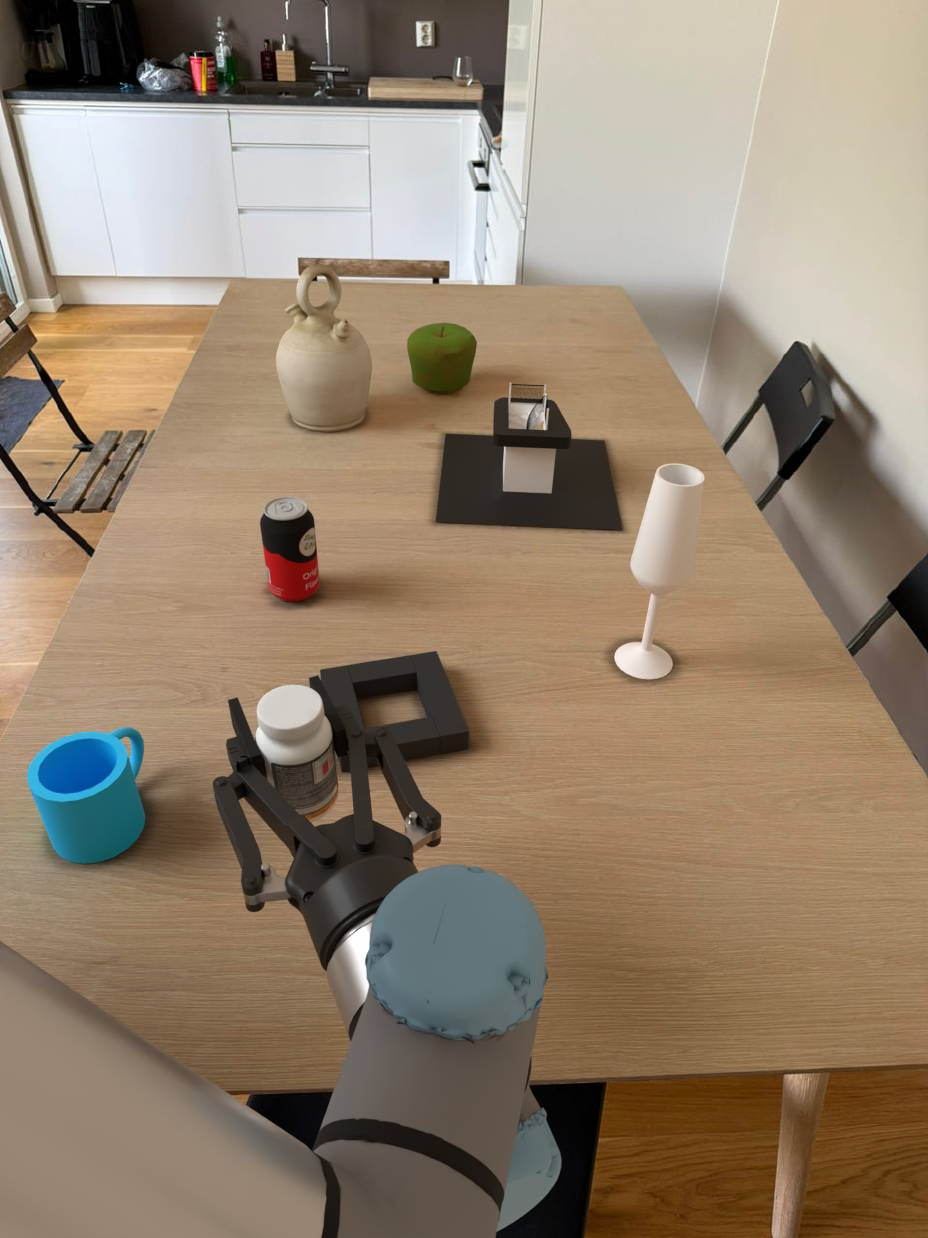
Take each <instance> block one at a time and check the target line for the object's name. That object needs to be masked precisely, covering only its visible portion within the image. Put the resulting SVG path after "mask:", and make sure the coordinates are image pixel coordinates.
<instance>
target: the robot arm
mask: <svg viewBox="0 0 928 1238" xmlns="http://www.w3.org/2000/svg"><path fill="white" fill-rule="evenodd" d="M308 683H309V688H311V689H313V690H315V691H316V692H317V693H318V694H319V695H320V697H321V699H322V702H323V707H324V715H325V716H326V718H327V719H328V720H329V722H330V724H331V727H332V732H333V741H334V750H335V755H336V757H337V759H338V758H339V757H342V756H345V755H348V753H347V750H348V752H349V758H350V783H351V796H352V797H351V799H352V811H353V813H351V814H348V815H345V816H343V817H341V818H339V819H337V820H336V821H334V822H332V823H324V824H318V825H316V826H315V824H313V822H310V821H309V820H308V819H307V818H306V817H305V816H304V815H302V816H300V815H299V814H298V812H297V811H296V810H295V809H294V808H293V807H292V806H291V805H290V804H289V803H288V802H287V801H286V800H285V799H284V797H283V796H282V795H281V794H280V793H279V792H278V791H277V790H276V789H275V788H274V787H273V786H272V785H271V784H270V782H269V781H268V780H267V779H266V778H265V777H264V774H263V768H262V762H261V755H260V752H259V750H258V747H257V745H256V742H255V736H254V735H253V733H252V730H251V728H250V725H249V723H248V720H247V717H246V715H245V712H244V709H243V707H242V705H241V702H240V700H239V697H234V698H233V697H232V698H230V699H227V705H228V709H229V715H230V720H231V726H232V728H233V730H234V733H235V736H234V737H230V738H226V742H225V748H226V753H227V758H228V761H229V764H230V766H231V769H232V771H231V773H230V774H229V775H228V776H226V775H220V776H217V777H215V778H214V779H213V781H212V782H211V785H212V790H213V796H214V799H215V804H216V808H217V811H218V814H219V816H220V819H221V822H222V824H223V826H224V829H225V831H226V834H227V836H228V839H229V842H230V844H231V846H232V849H233V852H234V854H235V856H236V859H237V861H238V864H239V867H240V869H241V874H240V884H241V890H242V895H243V900H244V904H245V908H246V909H245V910H247V911H248V912H250V913H257V912H260V911H262V910H263V908H264V907H265V904H266V903H268V902H277V901H287V902H288V903H289V904H290V906H292V907H293V908H294V909H296V910H297V911H298V912H300V914H301V916H302V917H303V921H304V923H305V925H306V928H307V930H308V931H307V932H308V933H309V937H310V939H311V942H312V944H313V947H314V950H315V952H316V955H317V957H318V960H319V963H320V966H321V967H322V969H323V971H325V974H326V980H327V984H328V987H329V990H330V992H331V995H332V997H333V1000H334V1003H335V1005H336V1008H337V1010H338V1013H339V1016H340V1019H341V1021H342V1023H343V1026H344V1029H345V1031H346V1033H347V1036H348V1039H349V1046H348V1049H347V1051H346V1055H345V1057H344V1060H343V1063H342V1065H341V1068H340V1071H339V1074H338V1076H337V1080H336V1082H335V1086H334V1089H333V1092H332V1094H331V1096H330V1099H329V1103H328V1106H327V1109H326V1111H325V1114H324V1116H323V1119H322V1122H321V1125H320V1128H319V1130H318V1133H317V1136H316V1138H315V1141H314V1145H313V1147H312V1149H310V1148H309V1147H308V1146H307V1145H306V1144H305V1143H304V1142H302V1141H300V1140H299V1139H298V1138H296V1137H294V1136H293V1135H291V1134H290V1133H288V1132H287V1131H286V1130H284V1129H283V1128H281V1127H280V1126H278V1125H277V1124H275V1123H273V1122H272V1121H270V1120H269V1119H268V1118H266V1117H265V1116H263V1115H261V1114H260V1113H259V1112H257V1111H255V1110H254V1109H252V1107H250V1106H248V1105H246V1104H245V1103H244V1102H242V1101H241V1100H240V1099H238V1098H236V1097H235V1096H233V1095H232V1094H231V1093H229V1092H227V1091H225V1090H224V1089H223V1088H222V1087H220V1086H219V1085H217V1084H215V1083H214V1082H213V1081H211V1080H209V1079H208V1078H207V1077H205V1076H203V1075H202V1074H200V1073H199V1072H197V1071H196V1070H194V1069H193V1068H191V1067H190V1066H188V1064H185V1063H184V1062H182V1061H181V1060H179V1059H178V1058H177V1057H175V1056H173V1055H172V1054H171V1053H170V1052H168V1051H166V1050H164V1049H163V1048H162V1047H160V1046H159V1045H157V1044H156V1043H154V1042H153V1041H151V1040H149V1038H146V1037H145V1036H144V1035H142V1034H140V1033H139V1032H137V1031H136V1030H134V1029H133V1028H132V1027H130V1026H128V1025H127V1024H126V1023H124V1022H123V1021H121V1020H120V1019H118V1018H117V1017H115V1016H114V1015H112V1014H111V1013H109V1012H108V1011H106V1010H104V1009H103V1008H102V1007H100V1006H99V1005H97V1004H96V1003H94V1002H93V1001H91V1000H90V999H88V998H87V997H86V996H84V995H82V994H81V993H79V992H78V991H76V990H75V989H73V988H72V987H70V986H68V984H66V983H64V982H63V981H61V980H59V978H57V977H55V976H54V975H52V974H51V973H49V972H48V971H46V970H45V969H43V968H42V967H40V965H39V966H38V964H35V963H34V962H33V961H31V960H30V959H28V958H26V956H24V955H23V954H21V953H19V952H18V951H16V950H15V949H13V948H12V947H11V946H9V945H7V944H6V943H4V942H2V940H0V1238H496V1236H497V1232H499V1231H501V1230H503V1229H504V1228H507V1227H508V1226H509V1225H511V1224H513V1223H514V1222H516V1221H517V1220H519V1219H520V1218H522V1217H523V1216H524V1215H526V1214H528V1213H529V1212H530V1211H531V1210H532V1209H533V1208H535V1206H537V1205H538V1204H539V1203H540V1202H541V1201H542V1200H543V1199H544V1198H545V1197H546V1196H547V1195H548V1194H549V1192H550V1191H551V1190H552V1188H554V1186H555V1184H556V1182H557V1181H558V1179H559V1176H560V1173H561V1170H562V1156H561V1151H560V1148H559V1147H558V1144H557V1142H556V1140H555V1137H554V1134H553V1133H552V1130H551V1128H550V1126H549V1124H548V1121H547V1117H548V1114H547V1111H546V1110H545V1108H544V1107H541V1106H540V1105H539V1102H538V1101H537V1099H536V1097H535V1095H534V1094H533V1092H532V1089H531V1087H530V1082H531V1074H532V1062H533V1061H532V1053H533V1048H534V1044H535V1039H536V1033H537V1028H538V1023H539V1017H540V1011H541V1006H542V1003H543V1001H544V993H545V986H546V985H547V980H549V973H548V966H547V964H546V955H547V953H546V952H547V951H546V950H547V942H546V940H547V939H546V934H545V930H544V925H543V922H542V919H541V917H540V915H539V912H538V911H537V909H536V907H535V905H534V903H532V901H531V899H529V897H528V896H527V895H526V894H525V893H524V892H523V891H522V890H521V888H519V887H518V886H517V885H516V884H515V883H514V882H512V881H510V880H509V879H508V878H506V877H504V876H503V875H501V874H499V873H497V872H494V871H491V870H488V869H484V868H481V867H479V866H469V865H465V864H460V863H459V864H457V863H455V864H454V863H453V864H441V865H436V866H432V867H428V868H426V869H423V870H421V871H419V869H418V868H417V866H416V864H415V863H414V859H415V858H414V854H415V853H417V851H419V850H421V849H422V848H424V847H425V846H427V847H428V848H436V847H439V845H440V844H441V841H442V814H441V813H440V811H439V810H437V809H436V808H435V807H434V806H433V805H431V803H429V801H427V800H426V799H425V798H424V797H423V795H422V793H421V791H420V789H419V787H418V785H417V783H416V780H415V779H414V776H413V774H412V773H411V771H410V768H409V767H408V764H407V763H406V760H404V758H403V756H402V754H401V752H400V750H399V748H398V746H397V744H396V742H395V740H394V738H393V736H392V734H391V732H390V730H389V729H388V728H385V727H380V728H378V729H376V730H375V732H371V733H368V732H364V731H363V730H361V729H360V728H359V726H358V724H357V722H356V720H355V718H354V717H353V715H352V713H351V711H350V709H349V708H348V707H347V706H345V705H342V706H339V707H334V705H333V703H332V701H331V699H330V697H329V695H328V693H327V691H326V690H325V688H324V686H323V684H322V682H321V677H320V676H319V675H314V676H310V677H308ZM374 757H376V760H377V762H378V764H379V765H378V767H379V768H380V771H381V773H382V775H383V777H384V779H385V782H386V784H387V786H388V788H389V791H390V793H391V795H392V797H393V800H394V802H395V804H396V806H397V808H398V811H399V813H400V814H401V817H402V820H403V821H404V833H405V834H403V833H401V832H399V831H397V830H395V829H392V828H391V827H389V826H386V825H384V824H383V823H380V822H378V821H376V820H374V819H373V809H372V799H371V789H370V780H369V779H370V778H369V769H368V768H369V767H367V758H374ZM241 799H244V800H245V801H246V802H247V804H248V805H249V806H250V807H251V808H252V809H253V811H254V812H255V813H256V814H257V815H258V816H259V817H260V818H261V819H262V820H263V822H264V823H265V824H266V825H267V826H268V827H269V828H270V830H271V831H272V832H273V833H274V834H275V835H276V836H277V838H278V839H280V841H281V842H282V843H283V844H284V846H286V847H287V849H288V850H289V852H290V854H291V856H292V858H293V859H292V862H291V864H290V866H289V869H288V871H287V874H286V876H285V877H281V876H279V875H278V874H277V871H276V869H275V867H273V866H272V865H270V864H269V863H268V862H263V859H262V853H261V850H260V847H259V844H258V842H257V840H256V838H255V836H254V835H255V834H254V833H253V831H252V828H251V826H250V824H249V821H248V818H247V816H246V814H245V812H244V810H243V807H242V805H241V802H240V801H241Z"/></svg>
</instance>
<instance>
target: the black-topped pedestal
mask: <svg viewBox="0 0 928 1238" xmlns="http://www.w3.org/2000/svg"><path fill="white" fill-rule="evenodd" d="M508 389H509V390H508V391H509V392H508V396H507V397H504V396H503V397H500V398H498V399H495V400H494V401H493V421H492V422H493V423H492V427H493V428H492V435H489V434H488V435H487V434H470V433H469V434H466V433H464V434H463V433H445V436H444V445H443V454H442V462H441V470H440V471H441V472H440V478H439V479H440V480H439V490H438V497H437V506H436V514H435V523H451V524H473V525H474V524H477V525H499V526H522V527H543V528H544V527H546V528H549V527H550V528H565V529H567V528H568V529H570V528H571V529H590V530H593V529H594V530H613V531H615V530H616V531H623V527H622V523H621V517H620V512H619V508H618V503H617V498H616V493H615V488H614V482H613V478H612V471H611V468H610V463H609V457H608V452H607V448H606V442H605V440H604V439H583V438H572V435H573V434H572V430H571V427H570V426H569V424H568V422H567V421H566V419H565V417H564V415H563V413H562V411H561V410H560V408H559V406H558V404H557V403H556V401H555V400H553V399H548V393H547V384H527V383H526V384H525V383H512V382H509V388H508ZM541 423H542V425H543V429H537V428H538V427H539V425H540V424H541Z"/></svg>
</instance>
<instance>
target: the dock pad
mask: <svg viewBox="0 0 928 1238" xmlns="http://www.w3.org/2000/svg"><path fill="white" fill-rule="evenodd" d="M319 674H320V676H319V677H320V680H321V682H322V684H323V686H324V688H325V690H326V691H327V693H328V695H329V697H330V699H331V701H332V703H333V705H334V707H339V706H342V705H345V706H347V707H348V708H349V709H350V711H351V713H352V715H353V717H354V718H355V720H356V722H357V724H358V726H359V728H360V729H361V730H363V731H364V732H368V733H371V732H375V730H376V729H378V728H380V727H385V728H388V729H389V730H390V732H391V734H392V736H393V738H394V740H395V742H396V744H397V746H398V748H399V750H400V752H401V754H402V756H403V758H404V760H405V761H408V760H414V759H418V758H419V759H420V758H424V757H429V756H435V755H439V754H440V755H441V754H446V753H451V752H452V753H453V752H457V751H462V750H467V749H469V738H470V730H469V728H468V725H467V723H466V720H465V718H464V716H463V712H462V711H461V708H460V705H459V703H458V701H457V698H456V696H455V693H454V691H453V688H452V685H451V683H450V681H449V678H448V676H447V674H446V671H445V669H444V666H443V664H442V661H441V659H440V656H439V654H438V651H437V650H434V651H427V652H421V653H415V654H409V655H408V654H407V655H403V656H402V655H401V656H396V657H395V656H394V657H390V658H382V659H377V660H371V661H364V662H358V663H351V664H347V665H340V666H333V667H328V668H320V669H319ZM415 690H416V691H417V694H418V696H419V699H420V703H421V705H422V708H423V711H424V713H425V716H426V717H421V718H416V719H410V720H405V721H399V722H393V723H388V724H383V725H382V724H381V725H377V726H370V727H365V724H364V719H363V717H362V713H361V708H360V706H359V701H358V700H361V699H367V698H373V697H378V696H385V695H391V694H396V693H402V692H409V691H415ZM347 753H348V755H345V756H342V757H339V758H338V757H337V759H338V762H339V767H340V771H341V773H344V772H349V771H350V758H349V752H348V750H347ZM376 766H379V764H378V762H377V760H376V757H374V758H367V767H368V768H371V767H376ZM350 772H351V771H350Z"/></svg>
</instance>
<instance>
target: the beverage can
mask: <svg viewBox="0 0 928 1238" xmlns="http://www.w3.org/2000/svg"><path fill="white" fill-rule="evenodd" d="M315 524H316V523H315V518H314V514H313V513H312V511H310V509H309V506H308V503H307V501H305V500H303V499H302V498H299V497H295V496H281V497H277V498H274V499H271V500H269V501H267V502H266V504H264V506H263V513H262V516H261V517H260V521H259V526H260V535H261V542H262V549H263V557H264V566H265V572H266V580H267V587H268V591H269V592H270V593H271V594H272V595H273V596H274V597H275V598H277V599H279V600H282V601H284V602H290V603H292V602H293V603H294V602H295V603H296V602H301V601H305V600H306V599H308V598H310V597H311V596H313V595H314V594H315V593H316V592H317V590H318V589H319V587H320V582H321V581H320V570H319V569H320V568H319V560H318V559H319V558H318V547H317V546H318V545H317V537H316V525H315Z"/></svg>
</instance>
